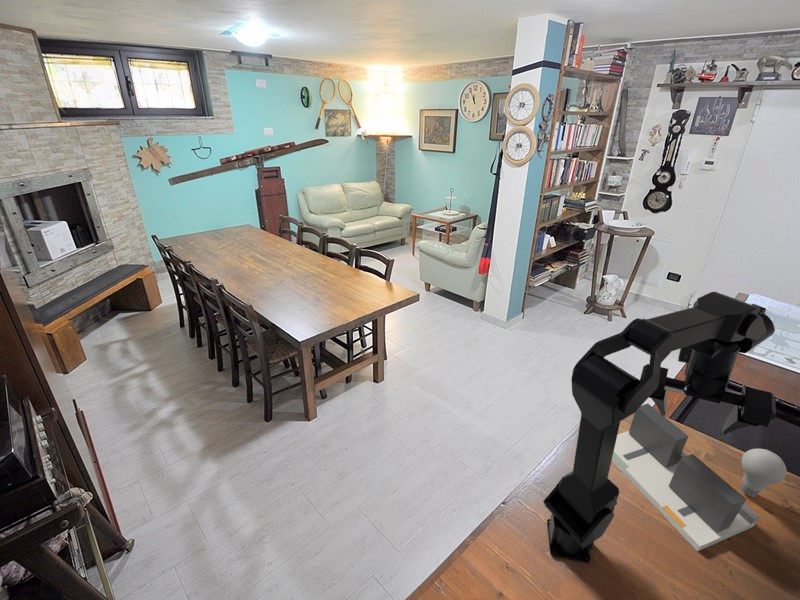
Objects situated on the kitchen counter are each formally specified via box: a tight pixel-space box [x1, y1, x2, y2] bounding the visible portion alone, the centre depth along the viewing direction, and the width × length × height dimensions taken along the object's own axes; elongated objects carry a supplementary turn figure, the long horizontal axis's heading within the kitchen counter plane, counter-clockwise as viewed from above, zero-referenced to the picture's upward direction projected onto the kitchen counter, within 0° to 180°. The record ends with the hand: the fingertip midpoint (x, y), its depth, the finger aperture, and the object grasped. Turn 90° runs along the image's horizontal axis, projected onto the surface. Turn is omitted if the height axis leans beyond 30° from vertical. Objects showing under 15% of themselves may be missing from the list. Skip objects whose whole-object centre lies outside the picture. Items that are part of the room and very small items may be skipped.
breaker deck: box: [611, 430, 760, 552], centre depth 78 cm, size 13×24×3 cm, turn 17°
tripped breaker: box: [669, 453, 747, 533], centre depth 70 cm, size 3×10×8 cm, turn 17°
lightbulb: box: [740, 448, 787, 498], centre depth 73 cm, size 6×6×11 cm
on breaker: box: [628, 403, 689, 468], centre depth 82 cm, size 3×10×8 cm, turn 17°
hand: (692, 423), depth 73 cm, fingers open, 9 cm apart
